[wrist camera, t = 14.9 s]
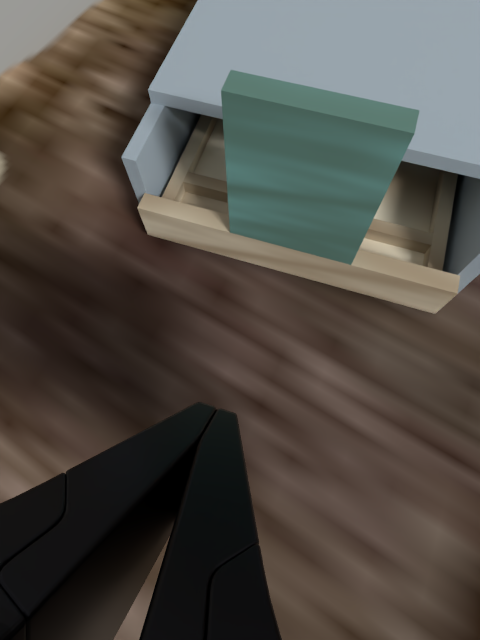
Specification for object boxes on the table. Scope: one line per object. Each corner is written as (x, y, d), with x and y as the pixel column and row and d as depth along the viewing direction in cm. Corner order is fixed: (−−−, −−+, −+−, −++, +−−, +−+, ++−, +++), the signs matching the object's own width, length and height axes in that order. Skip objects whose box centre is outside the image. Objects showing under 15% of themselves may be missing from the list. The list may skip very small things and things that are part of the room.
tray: (435, 313, 17) (592, 173, 10) (147, 234, 19) (78, 58, 11) (470, 91, 22) (595, -126, 14) (238, 44, 24) (234, -174, 16)
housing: (444, 305, 18) (512, 244, 13) (147, 224, 20) (116, 145, 15) (476, 91, 23) (535, -9, 18) (234, 41, 25) (231, -61, 20)
